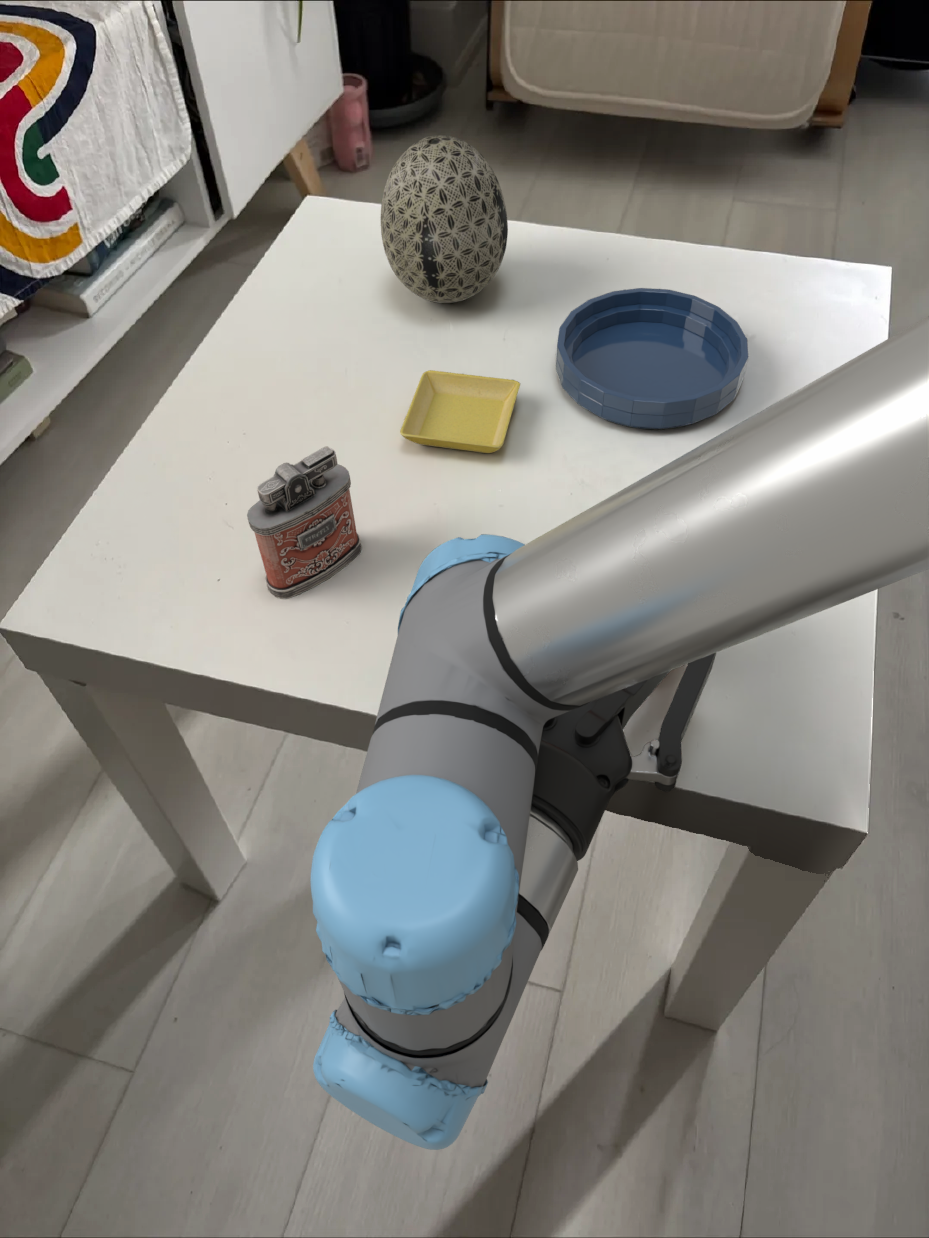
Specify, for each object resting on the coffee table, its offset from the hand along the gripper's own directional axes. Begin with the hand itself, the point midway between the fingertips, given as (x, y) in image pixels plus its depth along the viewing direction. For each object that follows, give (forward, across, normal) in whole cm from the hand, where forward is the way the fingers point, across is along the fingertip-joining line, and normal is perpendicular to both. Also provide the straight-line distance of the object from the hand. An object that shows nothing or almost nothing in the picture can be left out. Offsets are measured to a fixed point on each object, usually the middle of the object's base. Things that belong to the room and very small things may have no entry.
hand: (661, 540), depth 64 cm
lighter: (-7, -24, -7) cm, 26 cm away
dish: (+25, -9, -7) cm, 28 cm away
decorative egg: (+29, -31, -7) cm, 43 cm away
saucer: (+12, -21, -7) cm, 25 cm away
